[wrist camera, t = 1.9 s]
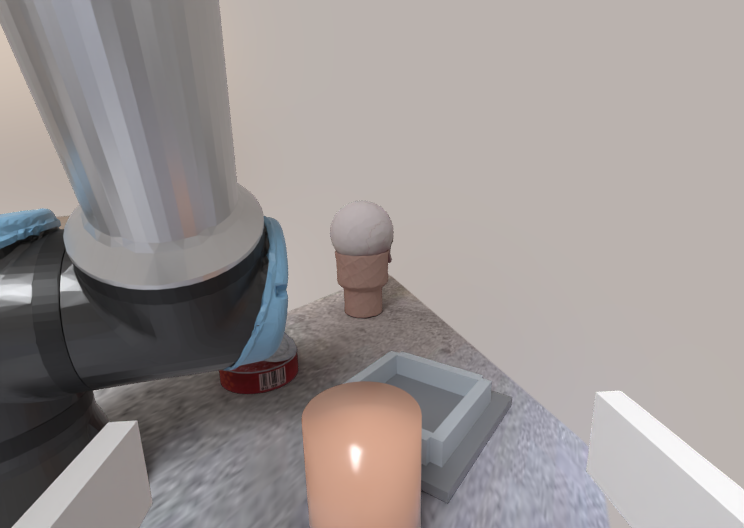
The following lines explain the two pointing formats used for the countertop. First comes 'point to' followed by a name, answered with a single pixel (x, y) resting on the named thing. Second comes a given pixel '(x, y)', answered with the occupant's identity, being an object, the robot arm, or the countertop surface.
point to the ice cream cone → (362, 255)
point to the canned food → (264, 371)
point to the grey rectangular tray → (443, 414)
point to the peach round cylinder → (363, 457)
